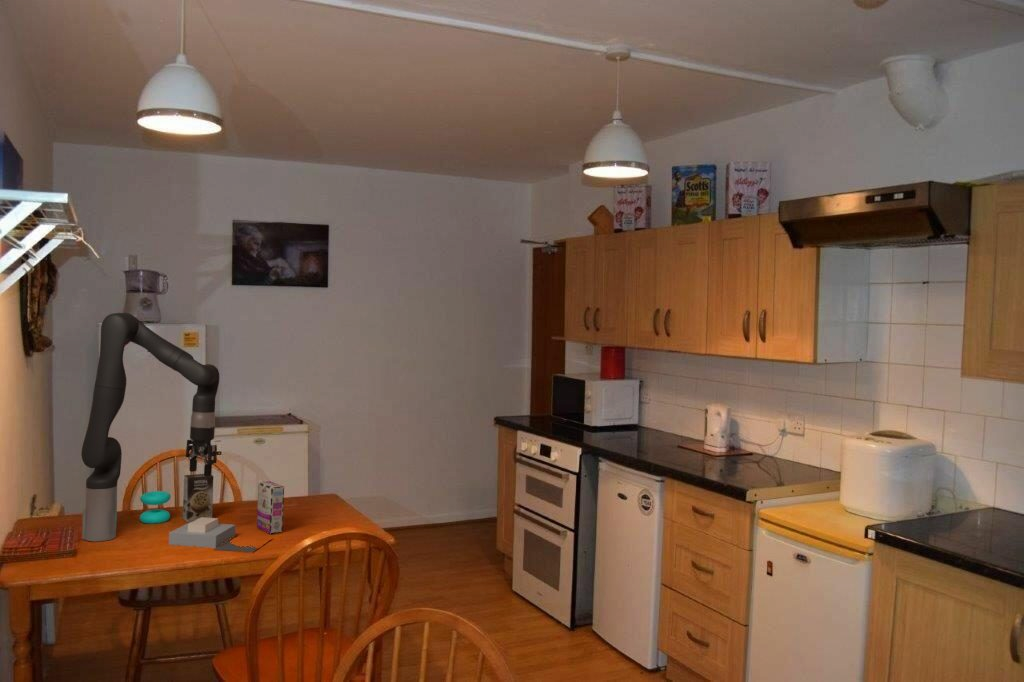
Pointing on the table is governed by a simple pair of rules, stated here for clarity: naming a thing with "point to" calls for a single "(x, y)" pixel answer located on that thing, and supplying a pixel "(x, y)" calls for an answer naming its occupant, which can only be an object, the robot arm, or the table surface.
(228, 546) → the mat
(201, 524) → the white rectangular block
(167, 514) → the donuts
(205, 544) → the block
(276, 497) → the candy bar box
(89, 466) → the robot arm
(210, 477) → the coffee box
